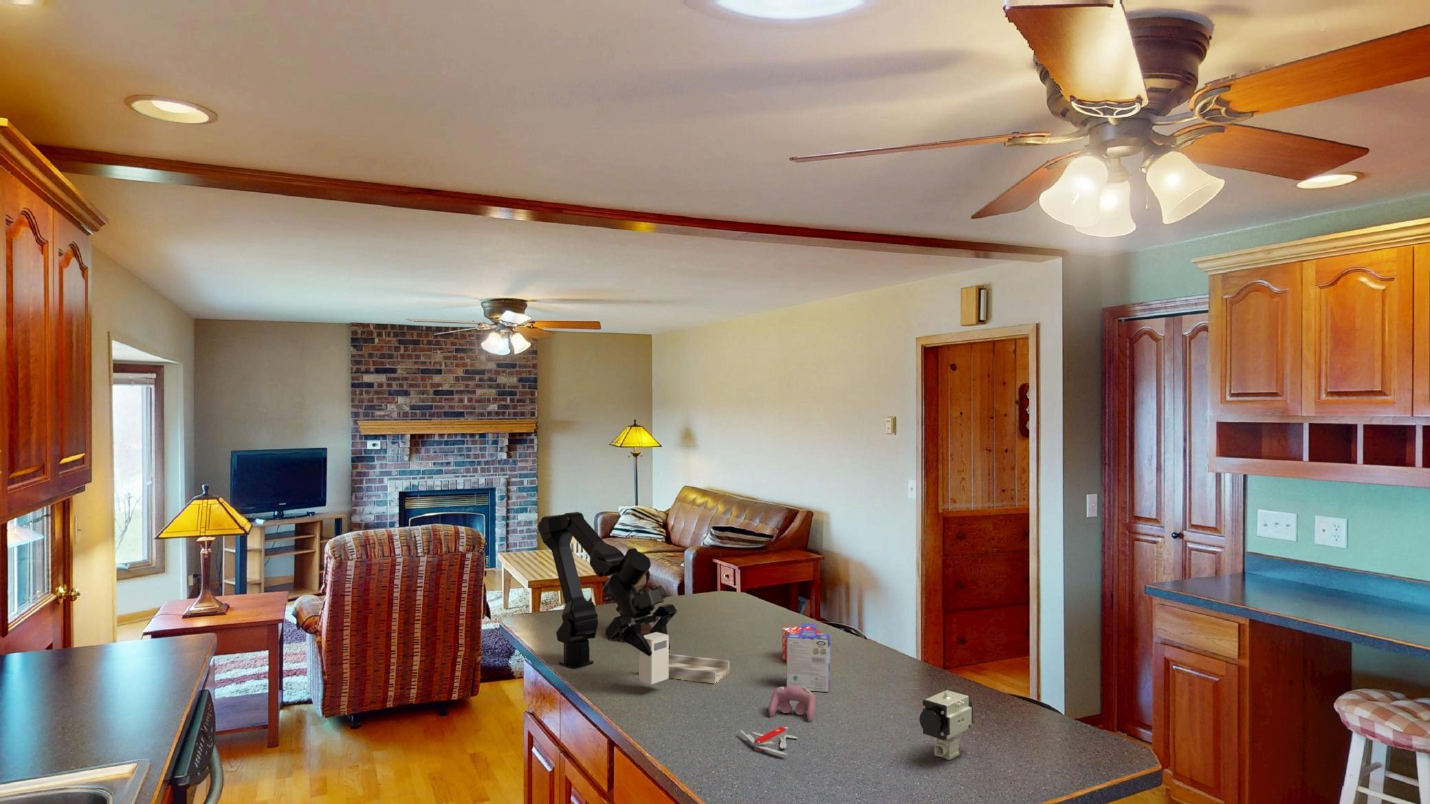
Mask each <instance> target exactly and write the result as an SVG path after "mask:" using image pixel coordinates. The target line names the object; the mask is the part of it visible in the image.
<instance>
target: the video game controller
mask: <svg viewBox="0 0 1430 804" xmlns="http://www.w3.org/2000/svg"><path fill="white" fill-rule="evenodd" d="M791 702H798V703H797V704H796V705H795V707H794V711H795V713H796V714H797V715H798V716H800V715H803V716H804V715H806V718H807V720H808V722H811V721H813V719H814V717H815V713H816V704H817V697H816V695H815V694H814V693H813V692H812V691H809V690H807V689H805V688H802V687H797V686H787V685H786V686H779V687H776V689H775V690H774V691H773V692H772V695H771V697H770V701H769V704H768V716H769V717H770V718H772V717H773V716H775V714H776V712H777V711H778V708H780V711H781V712H782V713H783V714H785V713H788V714H791V712H792V710H793V708H792V707H793V706H792V704H791Z"/></svg>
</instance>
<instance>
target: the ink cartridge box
mask: <svg viewBox="0 0 1430 804" xmlns="http://www.w3.org/2000/svg"><path fill="white" fill-rule="evenodd" d="M800 627H801V633H789V635H788V637H787V661H786V686H797V687H802V688H805V689H807V690H809V691H811V692H812V691H813V692H825V693H828V692H829V690H830V687H831V635H830V633H823V634H817V630H818V628H817V624H816V623H803V622H801V626H800ZM804 627H812V628H814V630H804V629H803V628H804Z"/></svg>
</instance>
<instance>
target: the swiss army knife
mask: <svg viewBox="0 0 1430 804" xmlns="http://www.w3.org/2000/svg"><path fill="white" fill-rule="evenodd" d="M789 728H790V727H788V726H779V727H777V728H775V729H773V730H771V731H769V732H767V733H765V734H762V733H759V732H756V731H755V732H754V731H752V734H753V735H754V736H756V737H758V738H756V739H755V737H753V736H752V735H751V734H746V732H745V731H743V729H739V732H740V733H741V734H742V735H743V736H744V737H745V738H746V739H747V740H748V741H750V743H752V745H754V751H757V752H763V751H767V752H770V753H773V754H776V755H781V756H788V755H789V754H787V753H786V752H783V751H780V750H776V749H773V748H770V747H769V746H771V747H773V746H775V745H776V744H778V743H779V748H780V749H785V748H787V746H788V744H787V740H786V739H787V738H789V739H798V737H797V736H795V735H792V734H787V730H788V729H789ZM777 742H778V743H777ZM774 744H775V745H774ZM772 745H773V746H772ZM768 747H769V748H768Z"/></svg>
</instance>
